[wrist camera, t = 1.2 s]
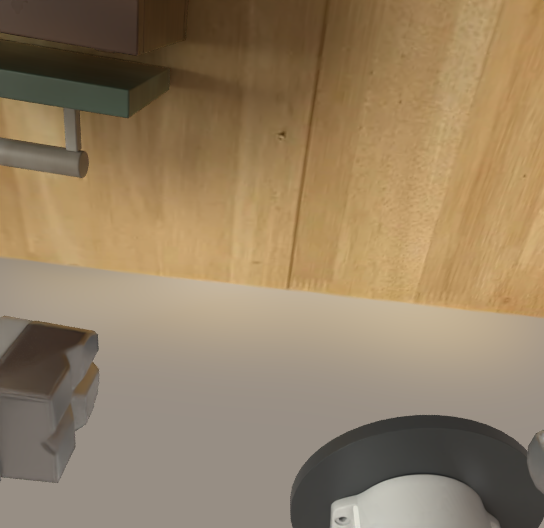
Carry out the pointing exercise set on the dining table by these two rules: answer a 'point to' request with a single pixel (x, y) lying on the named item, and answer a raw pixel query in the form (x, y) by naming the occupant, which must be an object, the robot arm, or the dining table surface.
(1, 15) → the cabinet
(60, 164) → the drawer
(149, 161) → the dining table surface
